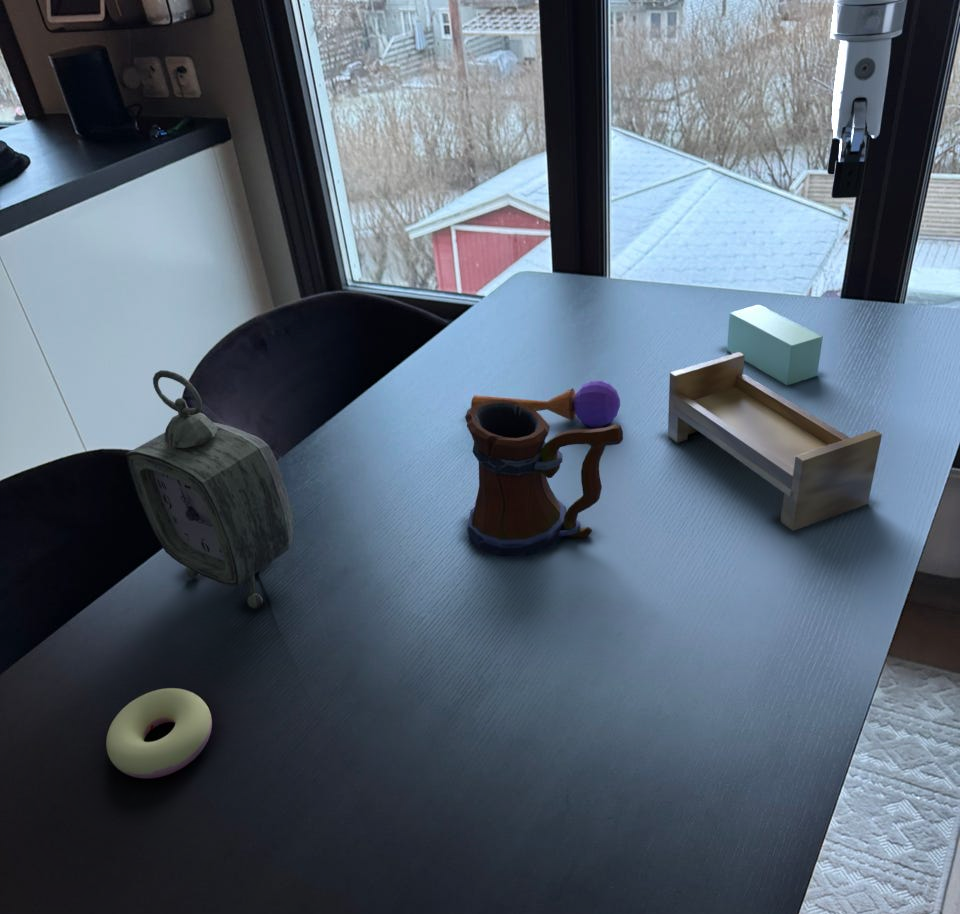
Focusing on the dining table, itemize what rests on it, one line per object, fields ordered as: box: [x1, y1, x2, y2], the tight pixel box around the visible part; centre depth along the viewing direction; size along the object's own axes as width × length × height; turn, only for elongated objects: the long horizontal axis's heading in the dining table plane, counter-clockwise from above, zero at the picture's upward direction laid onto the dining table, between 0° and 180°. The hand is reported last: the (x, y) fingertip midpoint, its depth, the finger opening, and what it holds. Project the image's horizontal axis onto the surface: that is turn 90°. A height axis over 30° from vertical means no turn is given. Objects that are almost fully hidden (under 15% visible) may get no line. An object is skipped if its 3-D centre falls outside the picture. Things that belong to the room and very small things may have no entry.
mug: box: [464, 399, 624, 557], centre depth 99 cm, size 18×12×15 cm, turn 69°
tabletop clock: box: [126, 369, 295, 609], centre depth 95 cm, size 14×9×25 cm, turn 53°
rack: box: [667, 352, 883, 532], centre depth 106 cm, size 10×25×9 cm, turn 23°
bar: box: [726, 304, 824, 386], centre depth 128 cm, size 5×14×6 cm, turn 23°
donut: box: [105, 687, 213, 779], centre depth 84 cm, size 10×5×9 cm
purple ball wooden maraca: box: [470, 379, 621, 428], centre depth 122 cm, size 6×6×20 cm
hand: (842, 184), depth 113 cm, fingers open, 9 cm apart
